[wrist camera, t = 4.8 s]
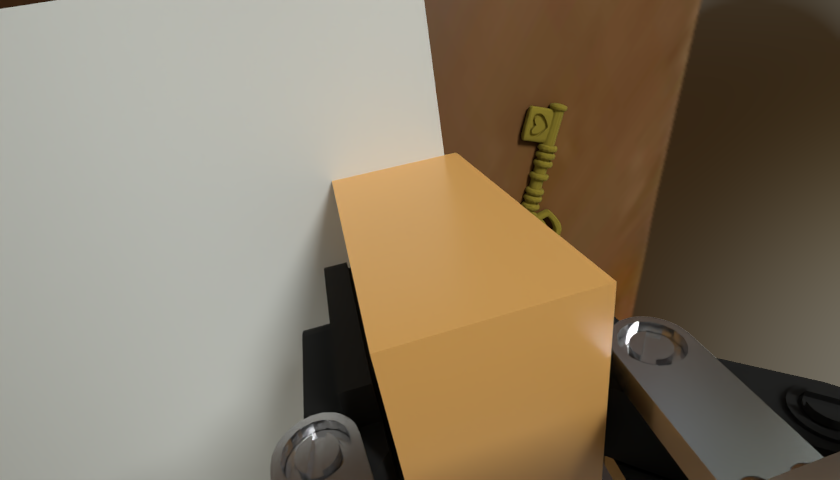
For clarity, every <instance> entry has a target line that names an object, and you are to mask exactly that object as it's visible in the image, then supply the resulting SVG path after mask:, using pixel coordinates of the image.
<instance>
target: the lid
mask: <svg viewBox="0 0 840 480" xmlns="http://www.w3.org/2000/svg"><path fill="white" fill-rule="evenodd" d="M345 262H347V265H348V268H350V267H351V271H352V275H353V280H354V284H355V289H356V293H357V298H358V302H359V307H360V312H361V316H362V321H363V325H364V330H365V334H366V339H367V343H368V348H369V352H370V356H371V360H372V364H373V367H374V371H375V374H376V378H377V382H378V385H379V389H380V393H381V396H382V400H383V403H384V407H385V411H386V414H387V418H388V421H389V425H390V429H391V432H392V436H393V440H394V443H395V447H396V450H397V454H398V458H399V461H400V465H401V469H402V472H403V476H404V479H405V480H602V471H603V457H604V443H605V430H606V416H607V403H608V389H609V376H610V362H611V349H612V335H613V322H614V308H615V295H616V281H615V280H614V279H612V278H611V277H610V276H609V275H608V274H606V273H605V272H604V271H603V270H601V269H600V268H599V267H598V266H596V265H595V264H594V263H593V262H591V261H590V260H589V259H588V258H586V257H585V256H584V255H583V254H581V253H580V252H579V251H578V250H577V249H575V248H574V247H573V246H572V245H570V244H569V243H568V242H567V241H565V240H564V239H563V238H562V237H560V236H559V235H558V234H557V233H555V232H554V231H553V230H552V229H550V228H549V227H548V226H547V225H546V224H544V223H543V222H542V221H541V220H539V219H538V218H537V217H536V216H534V215H533V214H532V213H531V212H529V211H528V210H527V209H526V208H524V207H523V206H522V205H521V204H519V203H518V202H517V201H516V200H514V199H513V198H512V197H511V196H510V195H508V194H507V193H506V192H505V191H503V190H502V189H501V188H500V187H498V186H497V185H496V184H495V183H493V182H492V181H491V180H490V179H488V178H487V177H486V176H485V175H483V174H482V173H481V172H480V171H479V170H477V169H476V168H475V167H474V166H472V165H471V164H470V163H469V162H467V161H466V160H465V159H464V158H462V157H461V156H460V155H459V154H457V153H452V154H447V155H444V150H443V142H442V135H441V127H440V119H439V112H438V104H437V96H436V89H435V81H434V73H433V66H432V58H431V50H430V43H429V35H428V27H427V20H426V12H425V4H424V0H55V1H48V2H42V3H35V4H29V5H22V6H16V7H9V8H3V9H0V480H271V476H270V465H271V457H272V454H273V452H274V449H275V447H276V445H277V443H278V442H279V440H280V439H281V438H282V437H283V435H284V434H285V433H286V432H287V431H288V430H289V429H290V428H291V427H293V426H294V425H295V424H296V423H298V422H299V421H301V420H303V419H304V408H303V350H302V334H303V331H304V330H308V329H311V328H315V327H319V326H322V325H326V324H329V323H330V321H329V312H328V303H327V294H326V285H325V275H324V268H326V267H330V266H334V265H338V264H341V263H345Z"/></svg>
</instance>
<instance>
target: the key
mask: <svg viewBox="0 0 840 480" xmlns="http://www.w3.org/2000/svg"><path fill="white" fill-rule="evenodd" d="M549 107H550V108H551V109H549V108H543V107H536V106H530V107H529V109H528V111H527V114H526V118H525V122H524V126H523V130H522V133H521V139H522V140H524V141H532V142H539V144H538V146H537V148H538V149H539V150H537V151H536V153H535V154H536V156H537V158H536V159H534V160H533V164H534V165H535V166H534V170H533V171H531V172H530V174H529V176H530V177H531V180H530V184H529V186H527V187H526V188H525V191H526V192H527V193H525V194H524V196H523V198H524V199H525V201H523V202H522V203H521V205H522V206H523V207H524V208H526V209H527V210H528V211H529V212H531V213H532V214H533V215H534V216H536V217H537V218H538V219H539V220H541V221H542V222H543V223H544V224H546V223H545V222H544V221H543V219H544V218H546V217H548V218H549V219H550V221H551V223H552V225H553V231H554V232H555V233H557V234H558V235H560V233H561V224H560V222H559V220H558V219H557V218H556V216H555V215H554V214H553V213H552V212H551V211H550V210H548V209H545V210H543V211H541V212H539V213H535V212H534V211H537V210H538V209H539V204H538V203H539V202H541V201H542V197H541V196H542V195H543V194H544V190H543V189H542V184H543V181H546V180H548V178H549V177H548V174H546V171H547V168H551V167H552V165H553V164H552V162H551V161H550V160H553V159H554V158H555V154H554V153H555V152H556V151H557V146H554V144H555V141H556V137H557V134H558V131H559V127H560V124H561V121H562V117H563V114H564V111H567V106H565V105H563V104H560V103H551V104H550V106H549Z"/></svg>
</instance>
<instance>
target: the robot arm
mask: <svg viewBox="0 0 840 480" xmlns="http://www.w3.org/2000/svg"><path fill="white" fill-rule="evenodd" d="M324 275H325V285H326V294H327V303H328V312H329V321H330V323H329V324H326V325H322V326H319V327H315V328H311V329H308V330H304V331H303V334H302V350H303V408H304V419H303V420H301V421H299V422H298V423H296V424H295V425H294V426H293V427H291V428H290V429H289V430H288V431H287V432H286V433H285V434H284V435H283V437H282V438H281V439H280V440H279V442H278V443H277V445H276V447H275V449H274V452H273V454H272V457H271V465H270V476H271V480H405V479H404V476H403V472H402V469H401V465H400V461H399V458H398V454H397V450H396V447H395V443H394V440H393V436H392V432H391V429H390V425H389V421H388V418H387V414H386V411H385V407H384V403H383V400H382V396H381V393H380V389H379V385H378V382H377V378H376V374H375V371H374V367H373V364H372V360H371V356H370V352H369V348H368V343H367V339H366V334H365V330H364V325H363V321H362V316H361V312H360V307H359V302H358V298H357V293H356V289H355V284H354V280H353V275H352V271H351V267H350V268H348V265H347V262H345V263H341V264H338V265H334V266H330V267H326V268H324ZM603 462H604V465H605V467H606V468H607V470H608V472H609V473H610V475H611V477H612V479H613V480H840V387H838V386H835V385H831V384H828V383H825V382H821V381H817V380H812V379H808V378H803V377H798V376H794V375H790V374H785V373H781V372H776V371H772V370H767V369H763V368H759V367H754V366H749V365H745V364H741V363H736V362H732V361H727V360H723V359H718V358H715V357H714V356H713V355H712V354H711V353H710V352H709V351H708V350H707V349H706V348H704V347H703V346H702V345H701V344H700V343H699V342H698V341H697V340H696V339H695V338H694V337H693V336H691V335H690V334H689V333H688V332H686V331H685V330H684V329H682V328H681V327H679V326H678V325H675V324H673V323H671V322H669V321H665V320H662V319H658V318H654V317H641V316H640V317H631V318H627V319H624V320H621V321H619V320H618V319H616V318H615V317H614V322H613V335H612V349H611V362H610V376H609V389H608V403H607V416H606V430H605V443H604V457H603Z"/></svg>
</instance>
